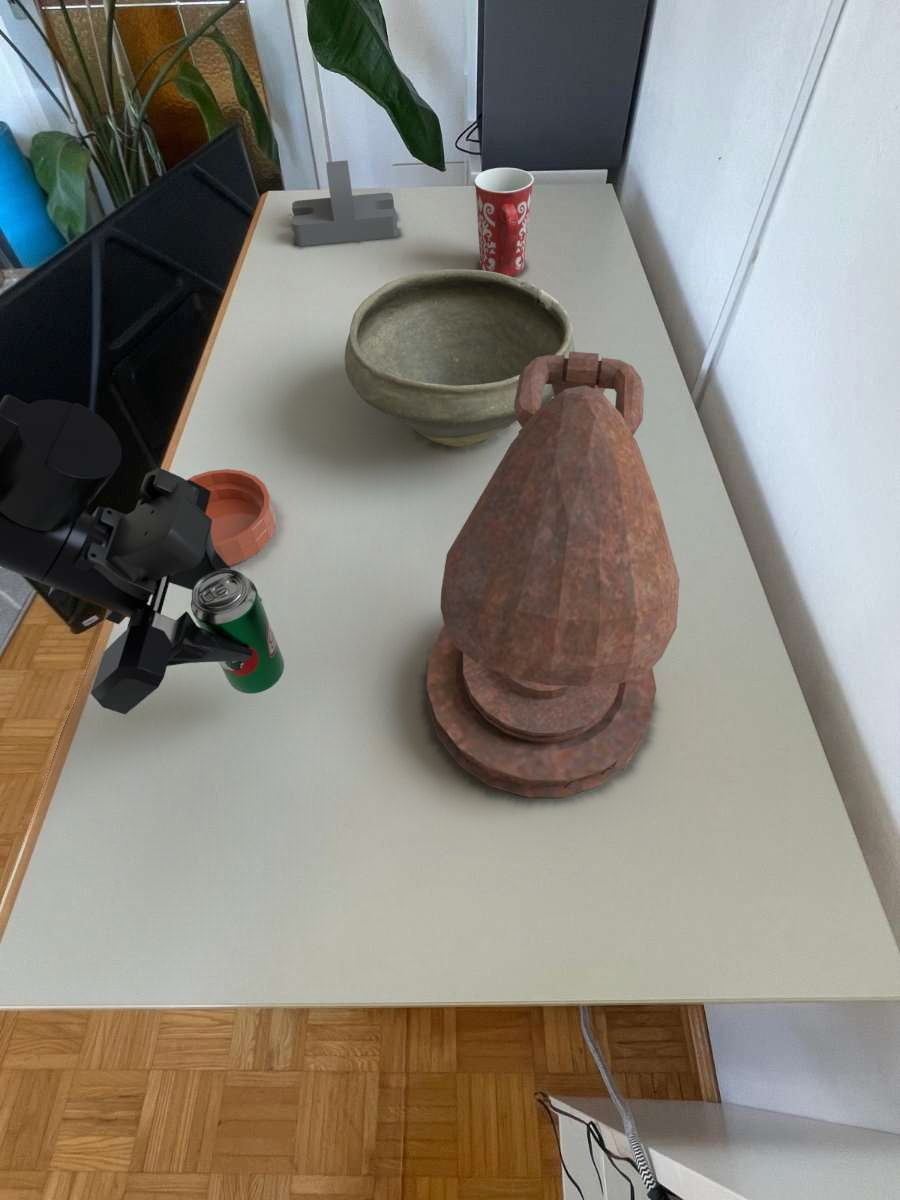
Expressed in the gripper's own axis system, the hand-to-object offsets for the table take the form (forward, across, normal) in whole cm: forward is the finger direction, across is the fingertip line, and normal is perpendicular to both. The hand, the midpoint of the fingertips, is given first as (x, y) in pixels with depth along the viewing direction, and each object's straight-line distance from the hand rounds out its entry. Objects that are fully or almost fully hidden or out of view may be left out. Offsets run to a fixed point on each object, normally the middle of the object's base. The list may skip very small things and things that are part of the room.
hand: (254, 629), depth 57 cm
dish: (+2, +23, +16) cm, 28 cm away
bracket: (+9, +96, +9) cm, 97 cm away
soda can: (+4, 0, +6) cm, 7 cm away
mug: (+28, +79, -11) cm, 84 cm away
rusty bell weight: (+26, -2, -8) cm, 27 cm away
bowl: (+22, +42, -4) cm, 47 cm away
